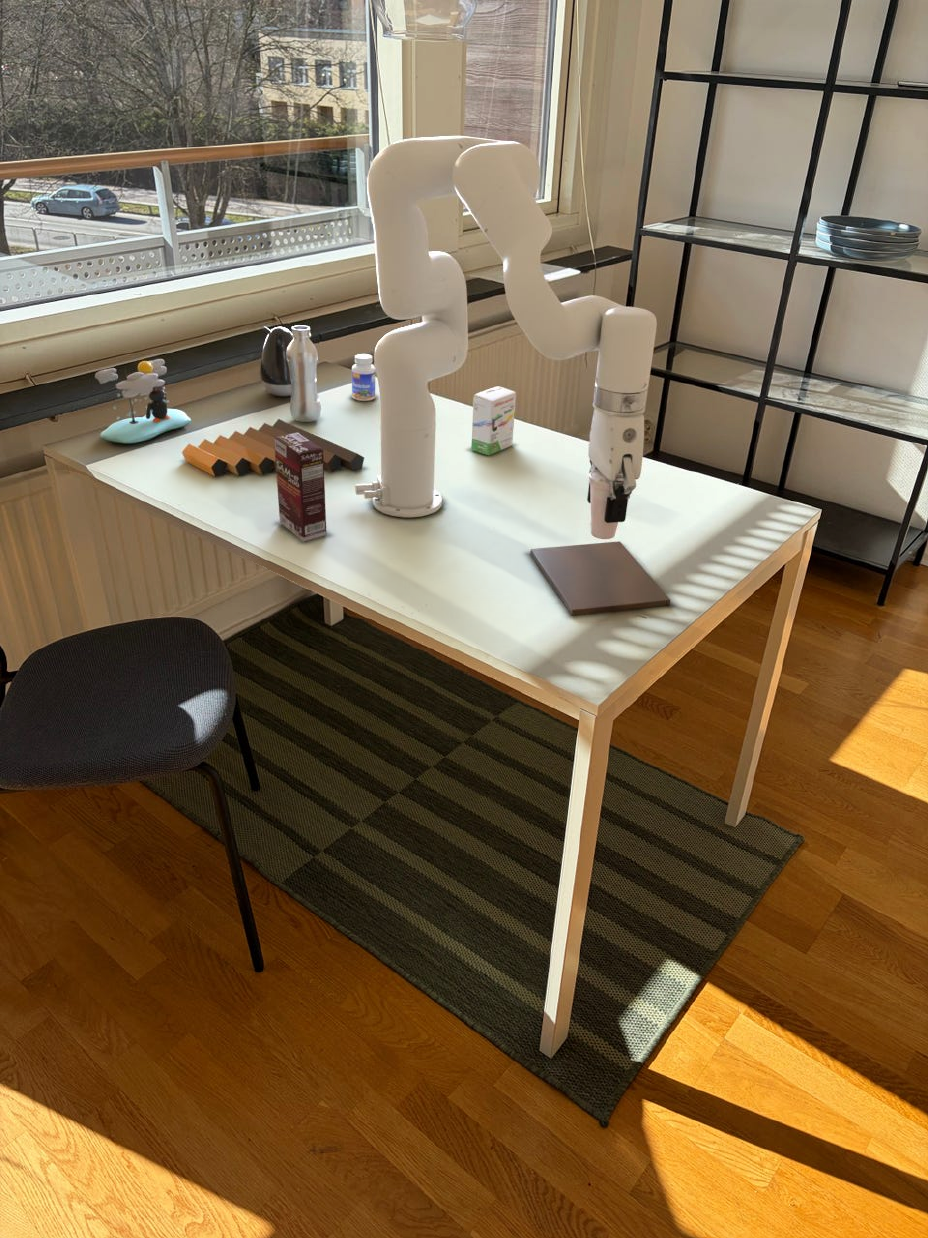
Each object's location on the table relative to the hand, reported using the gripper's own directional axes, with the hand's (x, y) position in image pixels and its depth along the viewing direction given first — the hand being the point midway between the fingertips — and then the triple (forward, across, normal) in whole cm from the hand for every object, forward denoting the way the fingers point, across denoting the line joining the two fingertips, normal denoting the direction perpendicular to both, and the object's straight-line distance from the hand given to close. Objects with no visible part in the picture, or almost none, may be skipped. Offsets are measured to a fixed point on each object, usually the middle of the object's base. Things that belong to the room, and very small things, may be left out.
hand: (605, 510), depth 147 cm
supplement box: (+12, +26, +44) cm, 52 cm away
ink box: (+12, +57, +1) cm, 58 cm away
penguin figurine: (+12, +77, +70) cm, 105 cm away
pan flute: (+12, +55, +46) cm, 73 cm away
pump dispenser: (+12, +98, +40) cm, 107 cm away
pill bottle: (+12, +92, +22) cm, 95 cm away
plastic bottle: (+12, +79, +37) cm, 88 cm away
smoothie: (+4, 0, 0) cm, 4 cm away
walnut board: (+12, 0, 0) cm, 12 cm away
